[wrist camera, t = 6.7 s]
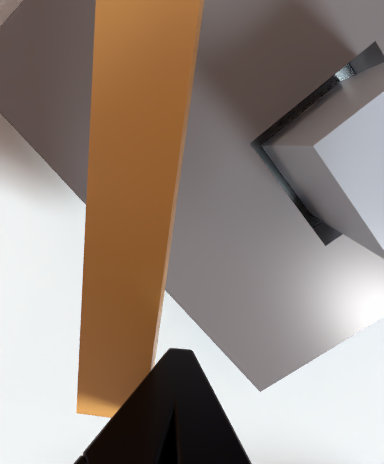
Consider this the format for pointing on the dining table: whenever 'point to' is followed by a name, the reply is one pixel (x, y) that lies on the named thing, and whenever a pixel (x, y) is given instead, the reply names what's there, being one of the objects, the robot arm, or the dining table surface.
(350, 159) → the plug
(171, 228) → the long orange beam
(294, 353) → the socket board
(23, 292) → the dining table surface
